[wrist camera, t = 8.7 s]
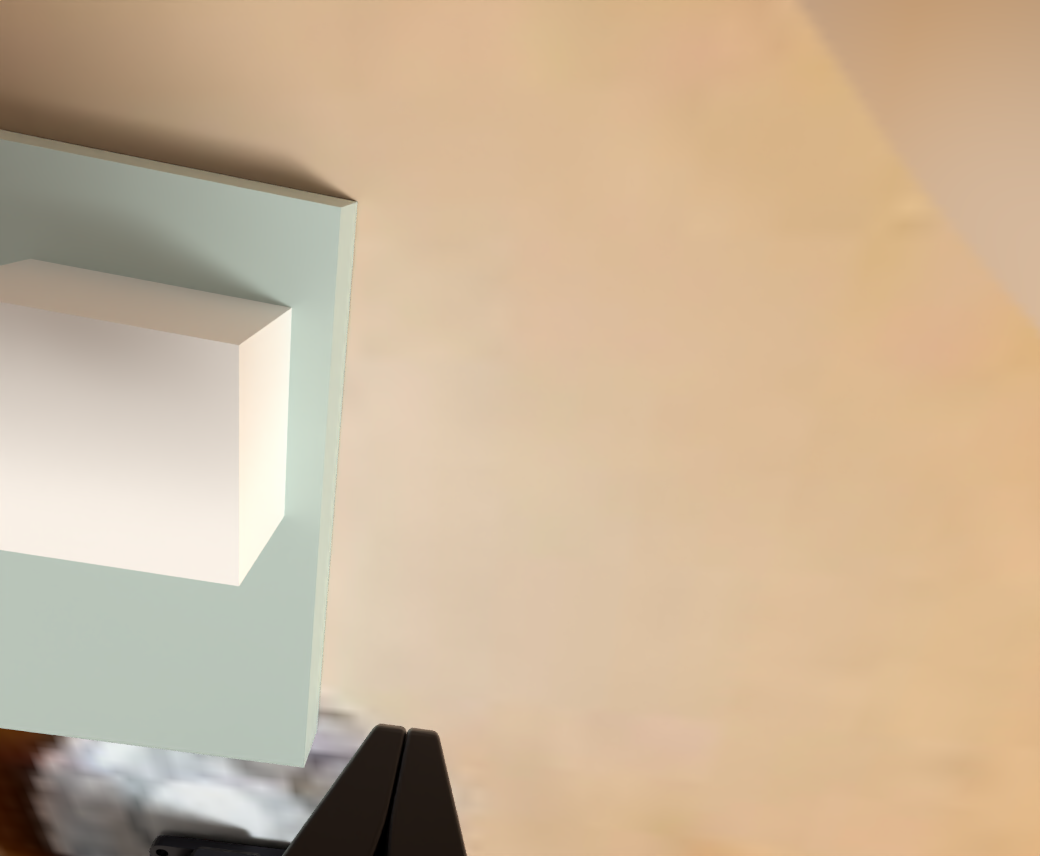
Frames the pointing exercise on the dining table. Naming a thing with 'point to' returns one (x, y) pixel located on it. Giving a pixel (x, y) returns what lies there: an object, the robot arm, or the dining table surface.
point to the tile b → (140, 422)
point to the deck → (308, 488)
